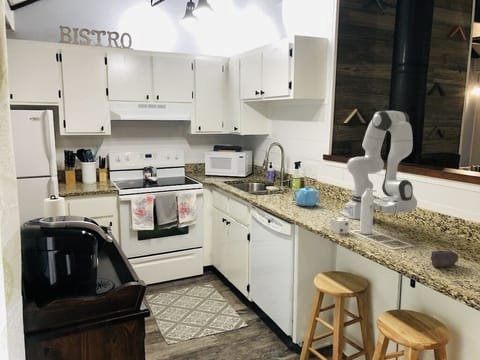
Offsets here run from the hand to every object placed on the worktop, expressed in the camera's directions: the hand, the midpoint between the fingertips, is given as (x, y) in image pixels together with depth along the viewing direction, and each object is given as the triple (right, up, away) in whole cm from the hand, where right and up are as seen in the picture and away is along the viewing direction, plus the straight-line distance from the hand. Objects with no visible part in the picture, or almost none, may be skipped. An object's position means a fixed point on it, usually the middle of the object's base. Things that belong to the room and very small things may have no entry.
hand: (366, 205), depth 207 cm
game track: (+5, -17, -6) cm, 19 cm away
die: (-14, -15, +5) cm, 21 cm away
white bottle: (+1, -16, +2) cm, 16 cm away
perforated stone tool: (+19, -23, -42) cm, 52 cm away
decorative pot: (-21, -5, +68) cm, 71 cm away
